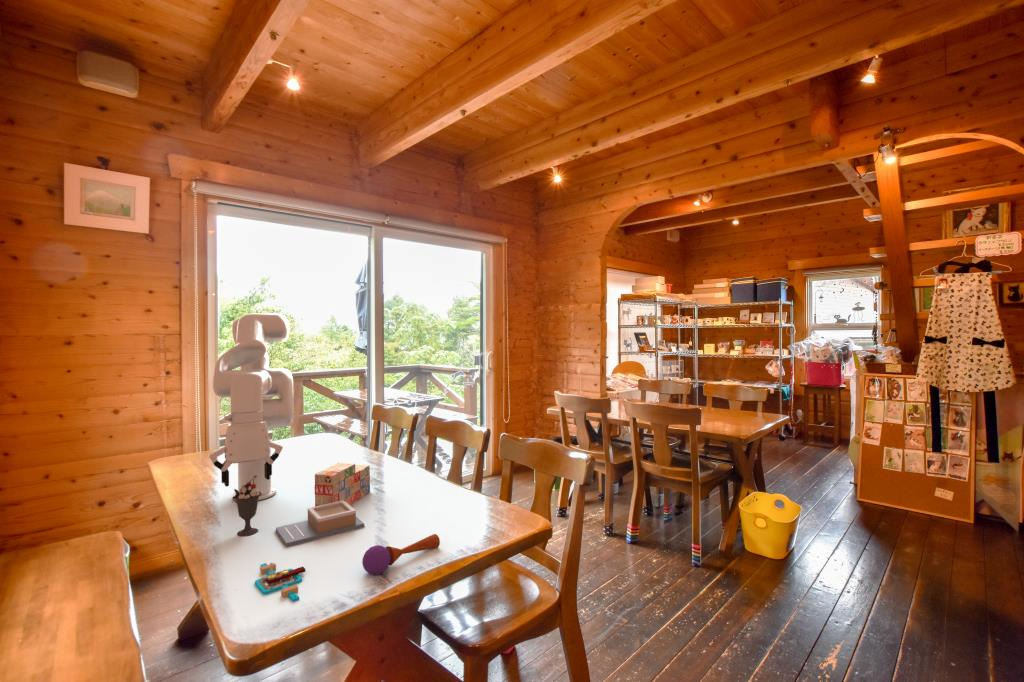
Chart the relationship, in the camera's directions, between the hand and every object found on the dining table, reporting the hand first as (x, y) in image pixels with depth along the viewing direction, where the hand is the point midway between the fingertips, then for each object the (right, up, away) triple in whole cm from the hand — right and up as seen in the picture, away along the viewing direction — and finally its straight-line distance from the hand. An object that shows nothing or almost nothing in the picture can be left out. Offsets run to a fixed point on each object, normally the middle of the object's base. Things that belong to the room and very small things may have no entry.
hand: (247, 481), depth 128 cm
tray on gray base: (+18, -14, +3) cm, 23 cm away
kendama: (+45, -15, -15) cm, 50 cm away
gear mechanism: (+21, -15, -24) cm, 36 cm away
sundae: (0, -14, +1) cm, 14 cm away
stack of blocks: (+18, -14, +23) cm, 32 cm away
